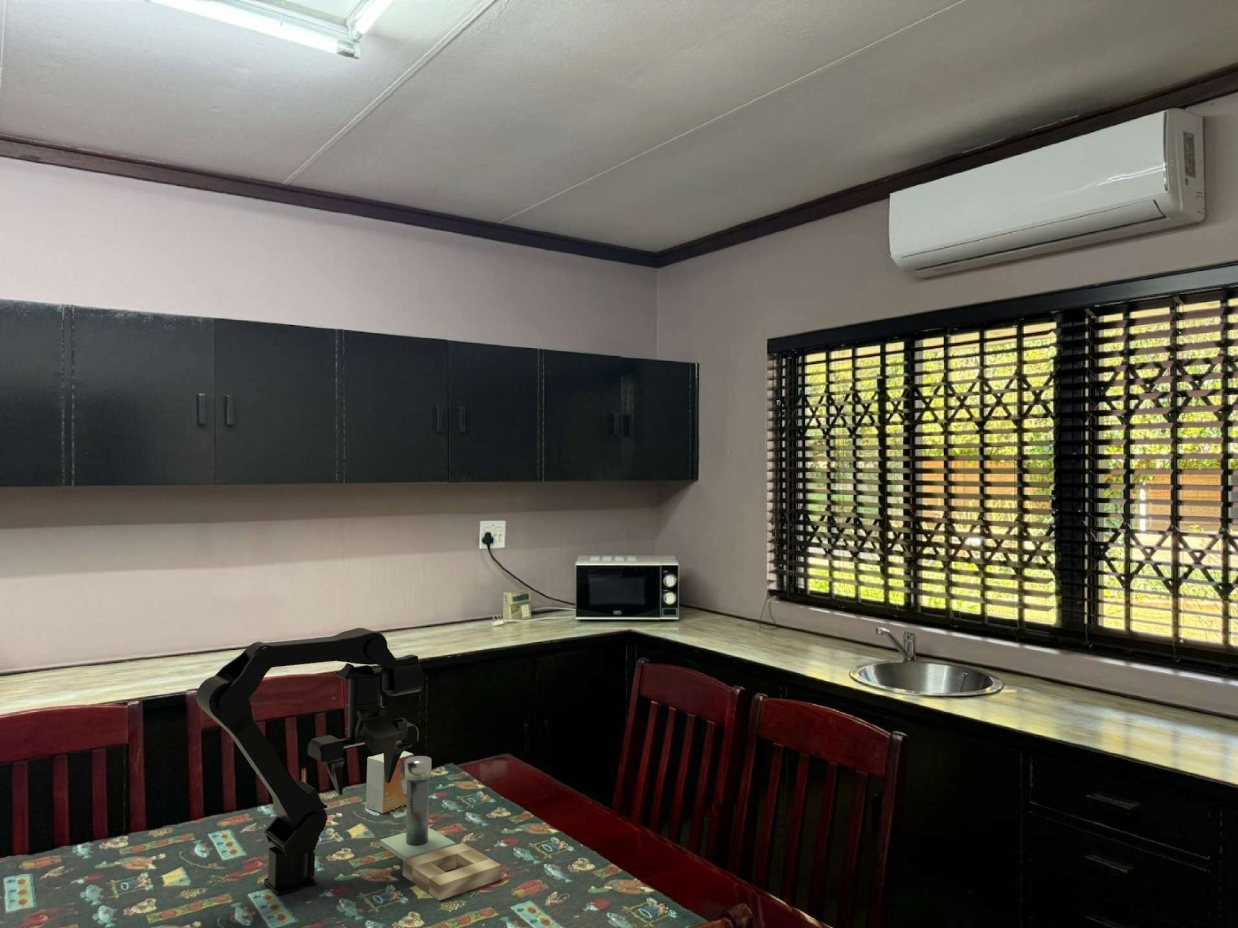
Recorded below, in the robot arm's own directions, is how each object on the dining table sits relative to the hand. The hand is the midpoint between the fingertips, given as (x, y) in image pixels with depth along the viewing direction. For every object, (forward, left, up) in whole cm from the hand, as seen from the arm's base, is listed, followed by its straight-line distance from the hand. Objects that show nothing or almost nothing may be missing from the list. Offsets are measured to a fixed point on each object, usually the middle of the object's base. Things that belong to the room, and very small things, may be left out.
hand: (364, 788), depth 159 cm
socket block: (+9, -15, -13) cm, 22 cm away
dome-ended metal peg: (+11, 0, -12) cm, 16 cm away
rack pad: (+11, 0, -13) cm, 17 cm away
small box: (+17, +22, -13) cm, 31 cm away
